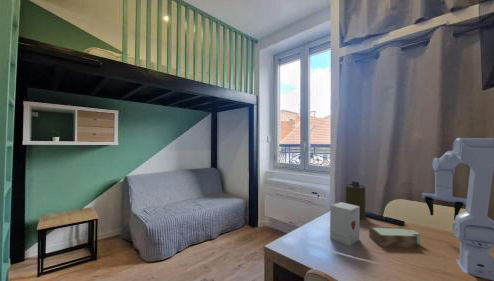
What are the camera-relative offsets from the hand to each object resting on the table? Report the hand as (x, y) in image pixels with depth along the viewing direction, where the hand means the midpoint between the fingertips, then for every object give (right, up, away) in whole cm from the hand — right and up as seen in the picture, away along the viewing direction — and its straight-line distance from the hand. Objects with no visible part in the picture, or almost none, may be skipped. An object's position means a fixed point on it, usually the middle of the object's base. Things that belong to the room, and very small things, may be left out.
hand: (443, 217), depth 95 cm
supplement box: (-44, -10, -1) cm, 45 cm away
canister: (-24, -10, +29) cm, 39 cm away
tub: (-25, -10, -4) cm, 27 cm away
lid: (-23, -9, -4) cm, 25 cm away
